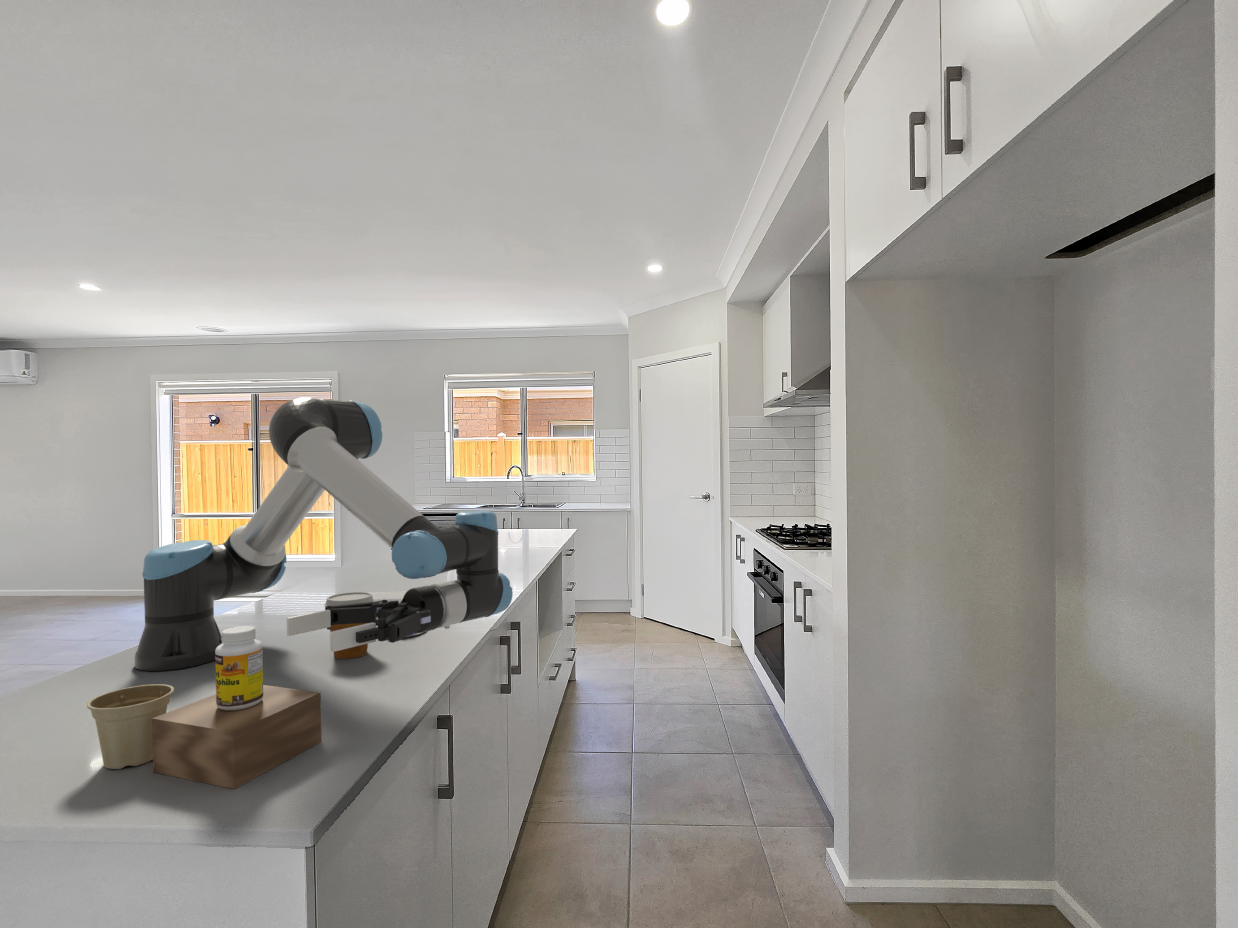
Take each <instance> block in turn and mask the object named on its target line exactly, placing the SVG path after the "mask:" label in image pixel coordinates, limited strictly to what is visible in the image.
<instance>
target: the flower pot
mask: <svg viewBox="0 0 1238 928" xmlns="http://www.w3.org/2000/svg"><path fill="white" fill-rule="evenodd" d="M173 693H175V688H174V686H172V685H170V684H164V683H163V684H160V683H158V684H154V683H153V684H141V685H136V686H128V687H123V688H119V689H115V690H112V691H108V692H106V693H103V694H100V695H97V696H96V697H94V698H92V699H90V700H89V701H87V702H86V708H87V709H89V710H90V712H91V716H92V718H93V719H94V720H95V726H96V731H97V736H98V741H99V746H100V751H101V758H102V765H103V766H104V768H107V769H112V770H122V769H123V768H125V767H128V766H132V767H137V766H141V765H143V764H145V763H148V762H151V761H153V737H152V718H154V717H157V716H160V715H162V714H165V713H167V709H168V705H169V703H170V702H171V695H172V694H173Z"/></svg>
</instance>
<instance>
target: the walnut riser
mask: <svg viewBox="0 0 1238 928" xmlns="http://www.w3.org/2000/svg"><path fill="white" fill-rule="evenodd" d="M321 699H322V695H321V692H319V691H312V690H304V689H296V688H289V687H281V686H276V685H275V686H274V685H266V684H263V699H262V700H261V701H260V702H259V703H258V704H256V705H254V706H252V707H249V708H246V709H241V710H233V711H227V710H221V709H219V708H218V707H217V704H216V693H215V694H213V695H209V696H207V697H205V698H202V699H199V700H197V701H194V702H192V703H189V704H186V705H184V706H181V707H178V708H176V709H174V710H171V711H170V710H169V711H168V712H166V713H165V714H162V715H160V716H157V717H154V718H152V737H153V760H152V769H153V770H152V771H153V773H155V774H159V775H164V776H170V777H174V778H178V779H185V780H189V781H193V782H198V783H204V784H208V785H213V786H218V787H221V788H227V789H233V790H236V789H238V788H239V787H241V786H243V785H245V784H247V783H248V782H250V781H252V780H254V779H256V778H257V777H260V776H261V775H264V774H265V773H266V772H269V771H270V770H273V769H274V768H276V767H277V766H279V765H281V764H283V763H285V762H287V761H289V760H290V759H292V758H294V757H296V756H298V755H300V754H301V753H304V752H305V751H307V750H309V749H310V748H313V747H314V746H316V745H318V744H321V743H322V740H323V739H322V700H321Z"/></svg>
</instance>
